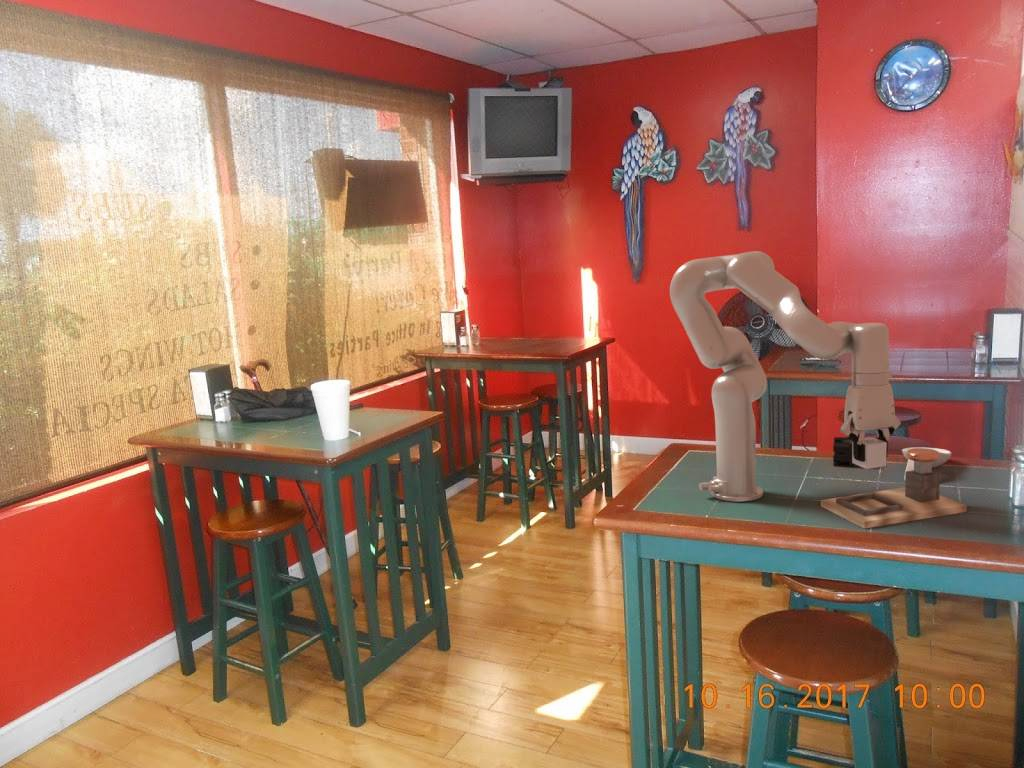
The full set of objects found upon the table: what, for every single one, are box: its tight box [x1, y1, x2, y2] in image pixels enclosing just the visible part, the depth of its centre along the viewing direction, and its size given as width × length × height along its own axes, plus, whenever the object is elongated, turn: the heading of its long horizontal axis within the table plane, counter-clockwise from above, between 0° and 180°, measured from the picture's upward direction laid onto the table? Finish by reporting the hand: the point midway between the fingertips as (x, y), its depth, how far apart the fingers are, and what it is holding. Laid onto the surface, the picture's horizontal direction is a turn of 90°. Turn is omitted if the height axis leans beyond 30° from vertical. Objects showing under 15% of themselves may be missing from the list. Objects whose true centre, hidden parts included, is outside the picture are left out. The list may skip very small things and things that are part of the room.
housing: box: [852, 436, 887, 470], centre depth 183 cm, size 5×5×6 cm
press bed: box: [820, 470, 968, 529], centre depth 186 cm, size 26×16×8 cm, turn 103°
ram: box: [906, 447, 939, 476], centre depth 187 cm, size 6×6×7 cm
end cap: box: [832, 436, 856, 468], centre depth 224 cm, size 10×7×7 cm
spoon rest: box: [901, 446, 952, 481], centre depth 212 cm, size 24×12×7 cm, turn 146°
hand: (870, 457), depth 183 cm, fingers closed on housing, 5 cm apart
